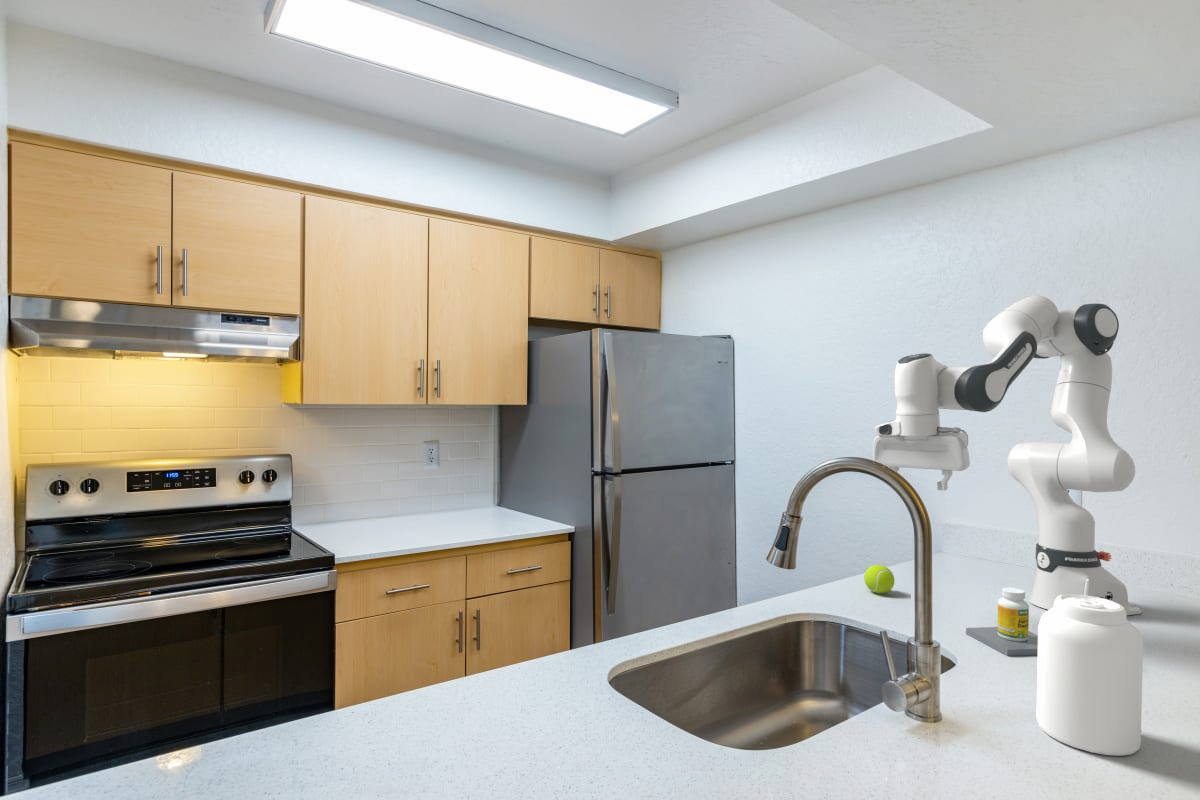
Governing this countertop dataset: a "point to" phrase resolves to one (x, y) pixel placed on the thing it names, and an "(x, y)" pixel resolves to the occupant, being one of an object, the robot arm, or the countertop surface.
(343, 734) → the countertop surface
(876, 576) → the tennis ball
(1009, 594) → the supplement bottle
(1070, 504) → the robot arm
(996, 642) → the coaster
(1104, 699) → the white plastic jar
